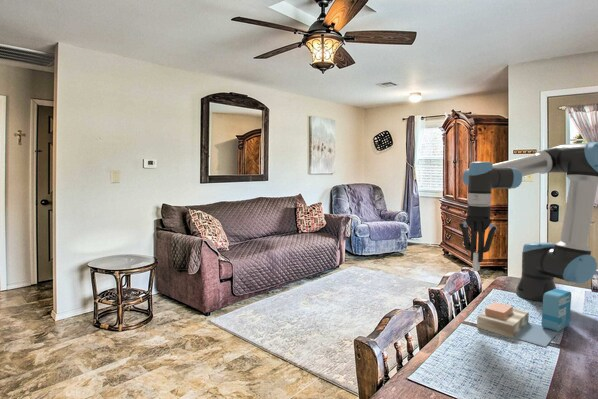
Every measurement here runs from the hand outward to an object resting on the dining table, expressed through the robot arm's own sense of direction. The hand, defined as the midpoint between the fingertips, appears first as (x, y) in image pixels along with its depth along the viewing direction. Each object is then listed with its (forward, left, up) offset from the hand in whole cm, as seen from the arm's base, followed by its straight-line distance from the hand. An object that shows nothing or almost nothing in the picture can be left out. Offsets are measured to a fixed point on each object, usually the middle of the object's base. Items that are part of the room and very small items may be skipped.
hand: (476, 270), depth 135 cm
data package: (-11, +23, -18) cm, 31 cm away
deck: (0, +10, -18) cm, 20 cm away
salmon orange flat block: (0, +8, -14) cm, 16 cm away
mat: (0, +20, -18) cm, 26 cm away
